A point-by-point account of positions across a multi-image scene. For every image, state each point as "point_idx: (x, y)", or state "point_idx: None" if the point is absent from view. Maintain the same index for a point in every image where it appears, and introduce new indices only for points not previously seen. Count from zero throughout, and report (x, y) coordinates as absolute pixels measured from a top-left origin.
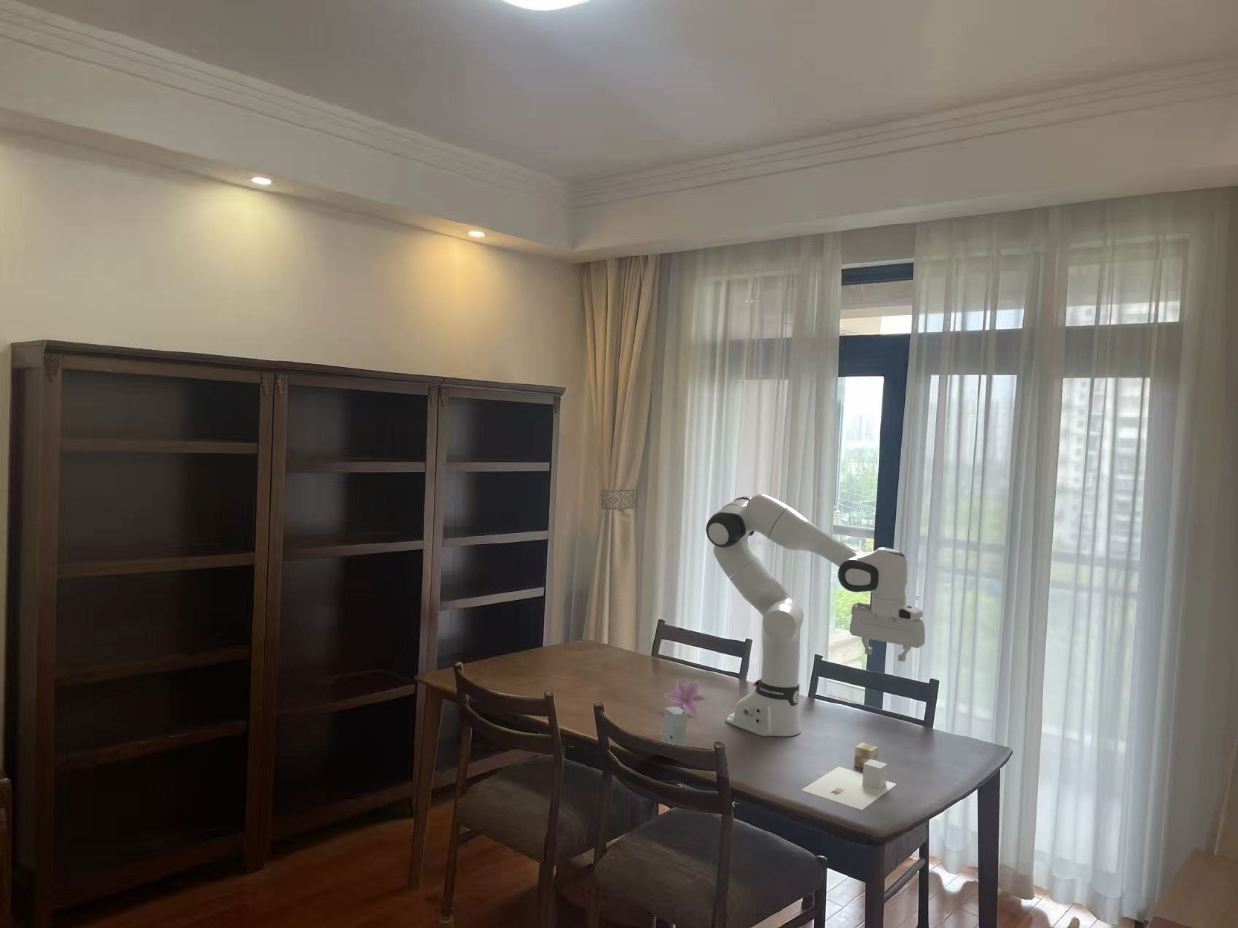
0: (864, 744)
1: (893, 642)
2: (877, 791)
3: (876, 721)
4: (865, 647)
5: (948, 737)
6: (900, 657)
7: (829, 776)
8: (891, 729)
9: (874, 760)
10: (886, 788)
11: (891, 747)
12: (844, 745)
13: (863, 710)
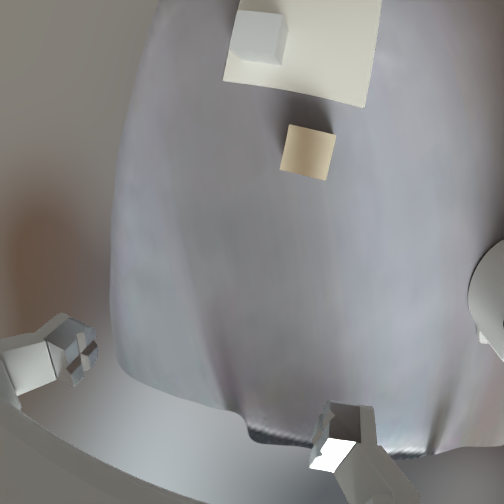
0: (317, 168)
1: (22, 420)
2: None
3: None
4: (373, 446)
5: (198, 394)
6: (61, 331)
7: (365, 37)
8: (293, 395)
9: (263, 51)
10: None
11: (278, 305)
12: (376, 263)
13: None
